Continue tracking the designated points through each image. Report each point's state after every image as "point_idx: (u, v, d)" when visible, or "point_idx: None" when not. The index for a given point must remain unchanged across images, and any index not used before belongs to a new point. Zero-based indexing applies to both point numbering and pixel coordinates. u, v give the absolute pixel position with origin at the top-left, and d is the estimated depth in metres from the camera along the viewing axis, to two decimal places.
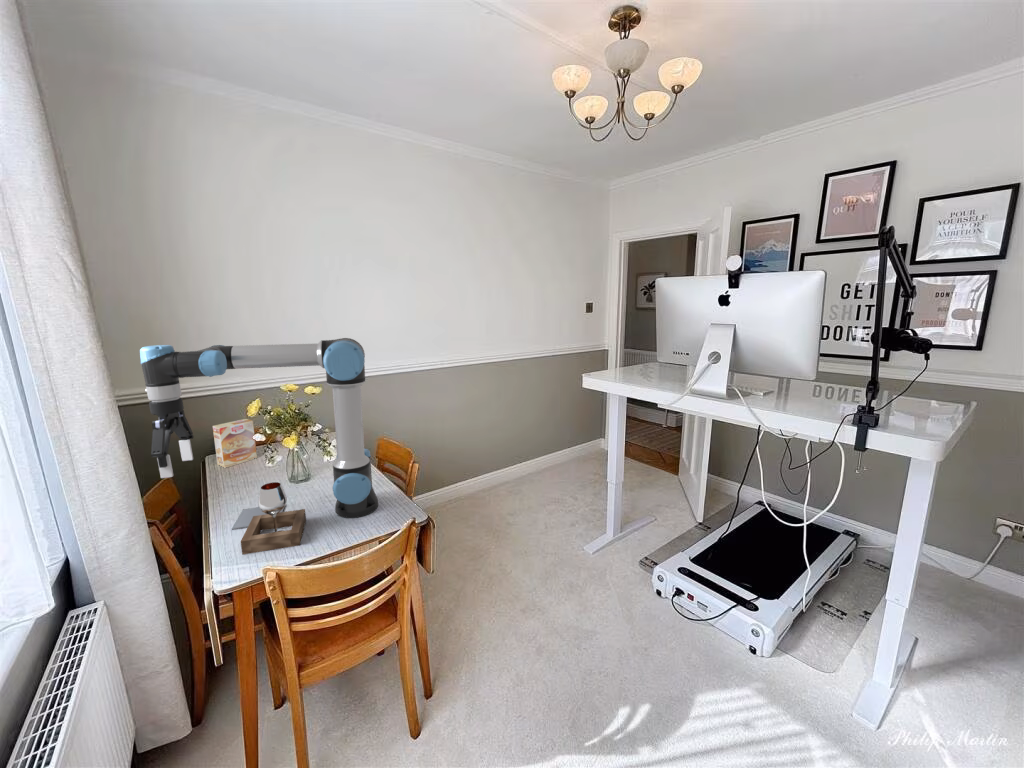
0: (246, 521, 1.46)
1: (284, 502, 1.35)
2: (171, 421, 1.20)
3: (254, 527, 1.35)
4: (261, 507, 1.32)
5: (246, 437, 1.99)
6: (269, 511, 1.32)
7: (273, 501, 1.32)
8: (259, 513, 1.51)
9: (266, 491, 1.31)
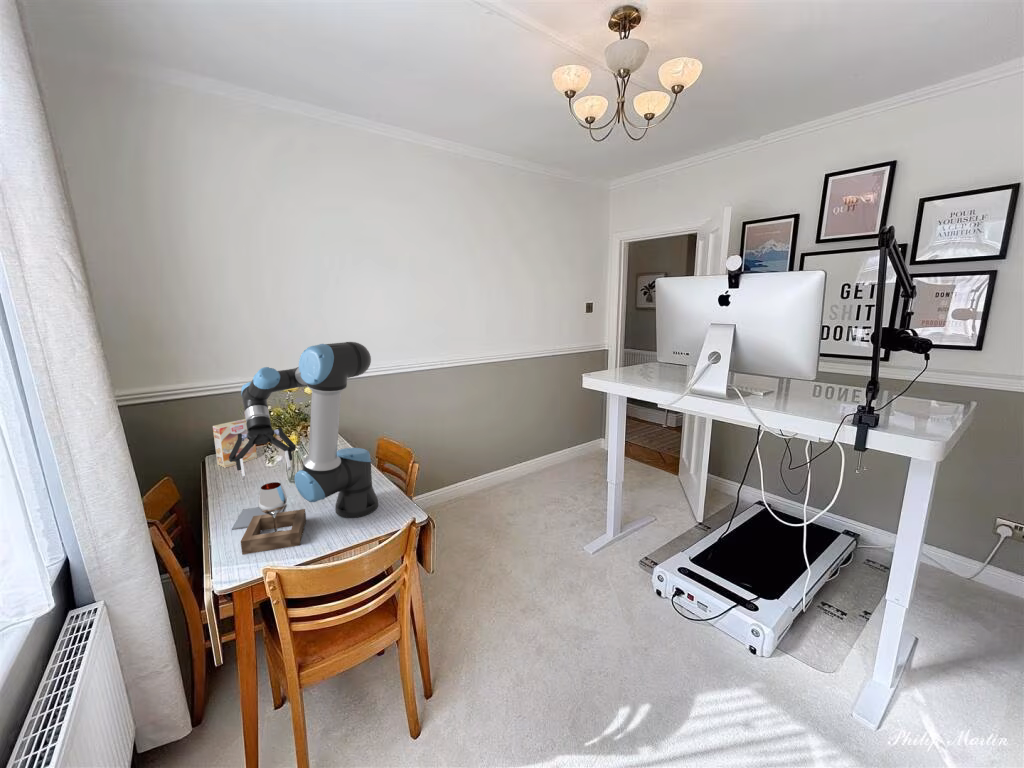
0: (246, 521, 1.46)
1: (284, 502, 1.35)
2: (254, 434, 1.47)
3: (254, 527, 1.35)
4: (261, 507, 1.32)
5: None
6: (269, 511, 1.32)
7: (273, 501, 1.32)
8: (259, 513, 1.51)
9: (266, 491, 1.31)
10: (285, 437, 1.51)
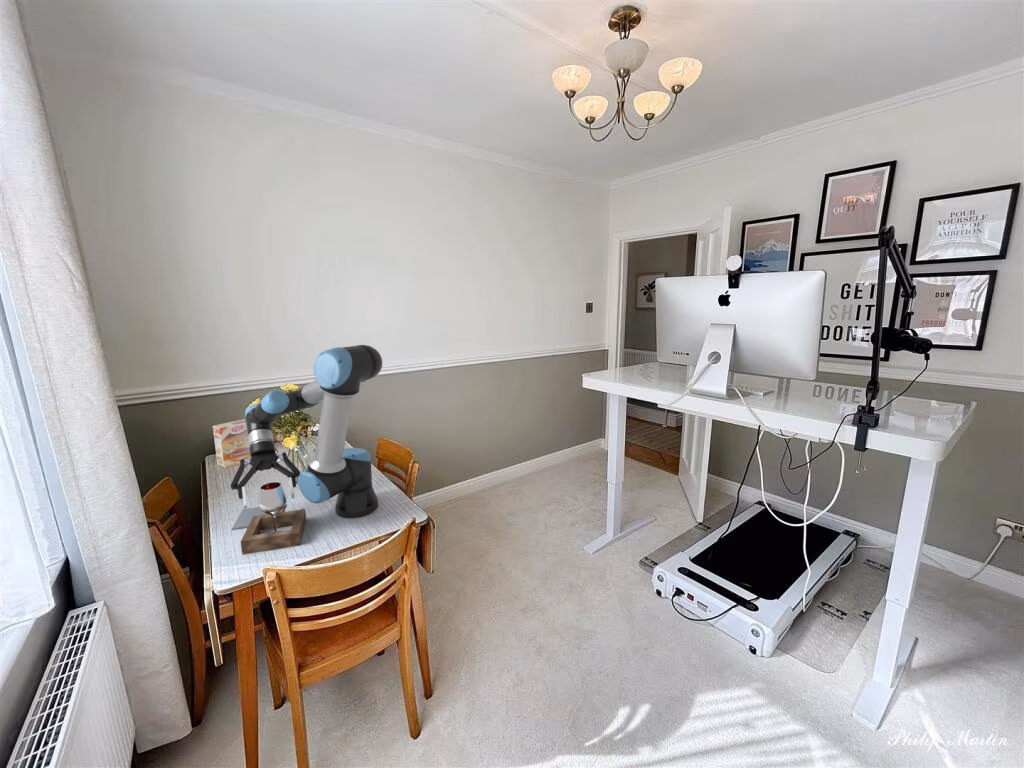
0: (246, 521, 1.46)
1: (284, 502, 1.35)
2: (257, 460, 1.41)
3: (254, 527, 1.35)
4: (261, 507, 1.32)
5: (246, 437, 1.99)
6: (269, 511, 1.32)
7: (273, 501, 1.32)
8: (259, 513, 1.51)
9: (266, 491, 1.31)
10: (289, 462, 1.45)
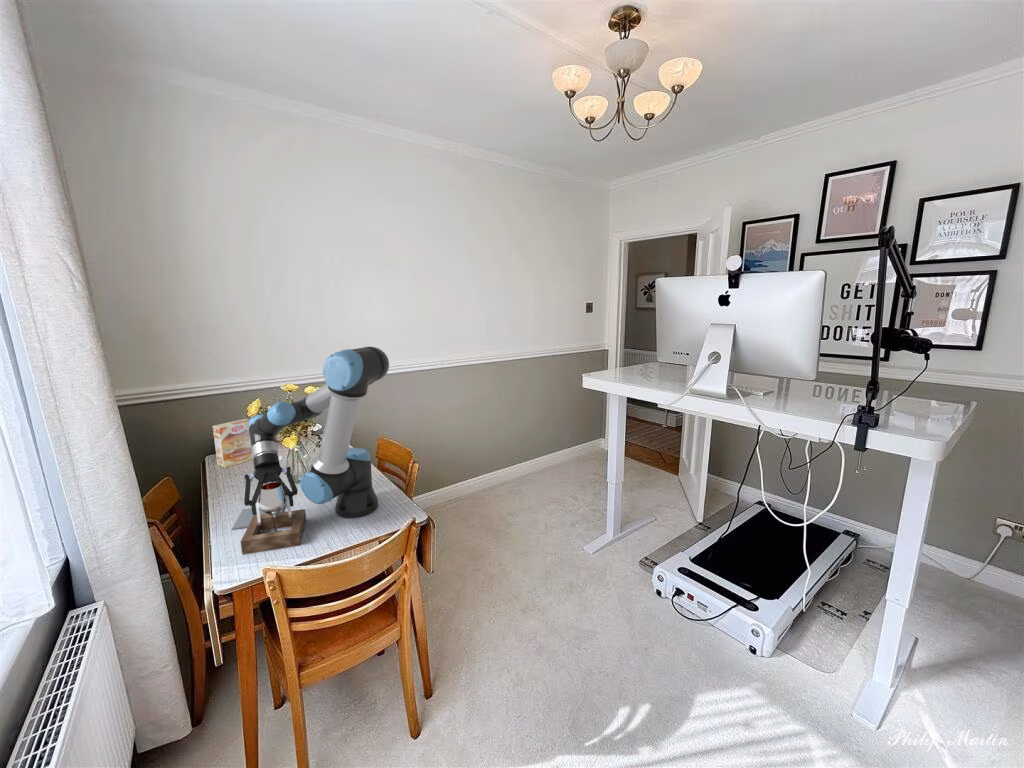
0: (246, 521, 1.46)
1: (284, 502, 1.35)
2: None
3: (254, 527, 1.35)
4: (261, 507, 1.32)
5: (246, 437, 1.99)
6: (269, 511, 1.32)
7: (274, 500, 1.32)
8: None
9: (266, 491, 1.31)
10: (290, 478, 1.41)
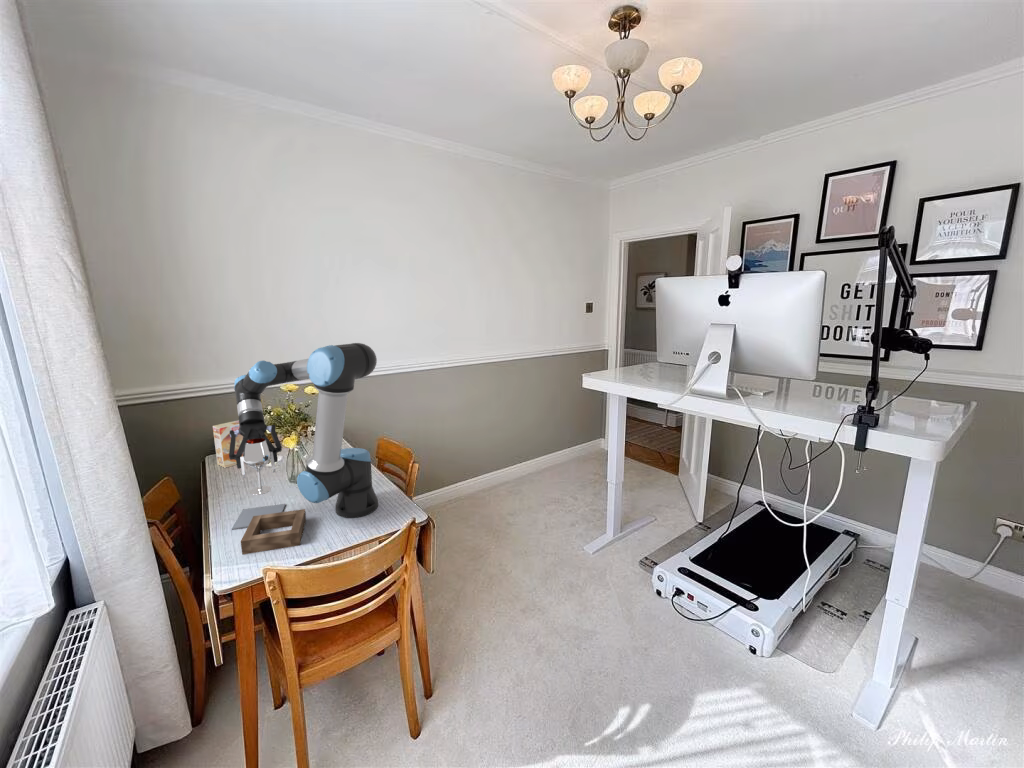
0: (246, 521, 1.46)
1: (268, 457, 1.39)
2: (246, 430, 1.43)
3: (254, 527, 1.35)
4: (246, 460, 1.36)
5: None
6: (253, 464, 1.36)
7: (258, 454, 1.36)
8: (259, 513, 1.51)
9: (250, 445, 1.36)
10: (275, 436, 1.46)
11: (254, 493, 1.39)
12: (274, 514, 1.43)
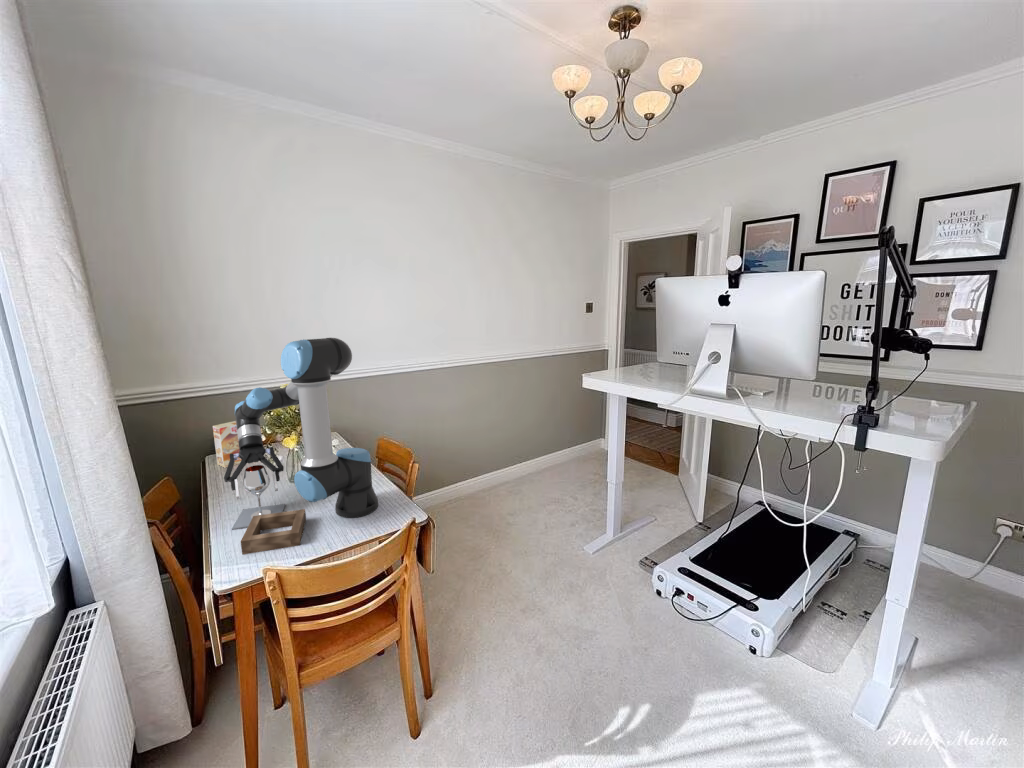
0: (246, 521, 1.46)
1: (267, 483, 1.47)
2: (245, 453, 1.50)
3: (254, 527, 1.35)
4: (245, 487, 1.44)
5: None
6: (253, 491, 1.44)
7: (257, 481, 1.44)
8: None
9: (249, 473, 1.44)
10: (275, 457, 1.54)
11: None
12: (274, 514, 1.43)
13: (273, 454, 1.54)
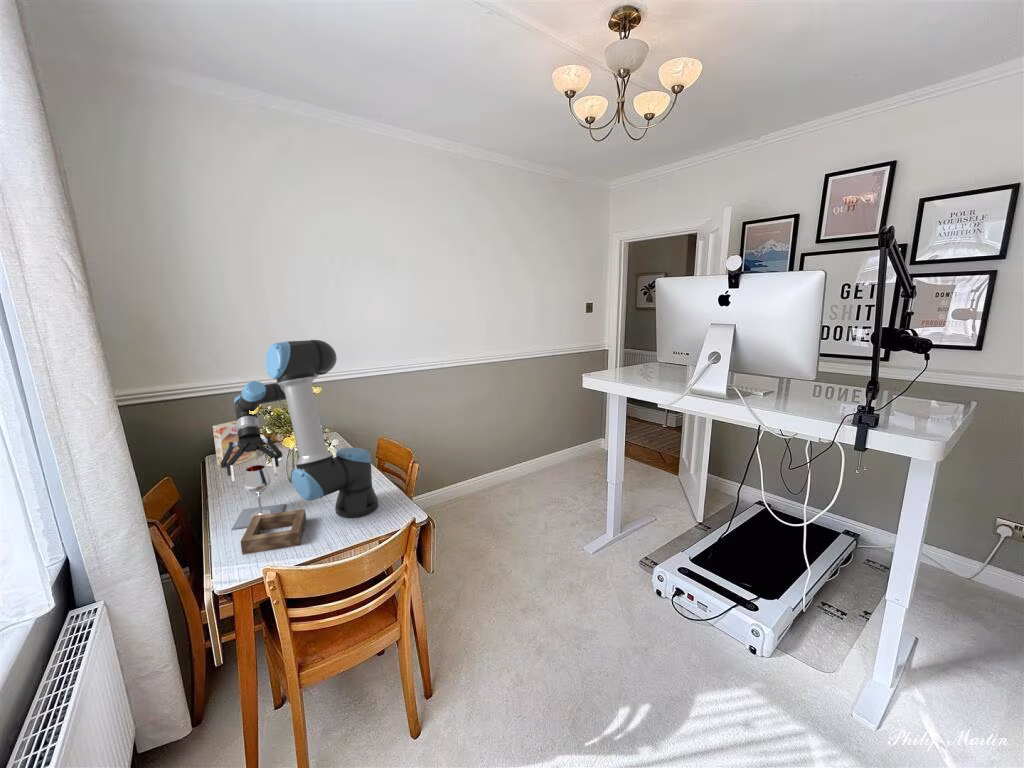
0: (246, 521, 1.46)
1: (267, 483, 1.47)
2: (244, 443, 1.61)
3: (254, 527, 1.35)
4: (246, 487, 1.44)
5: None
6: (253, 491, 1.44)
7: (257, 481, 1.44)
8: None
9: (250, 473, 1.44)
10: (272, 445, 1.65)
11: None
12: (274, 514, 1.43)
13: (271, 443, 1.65)
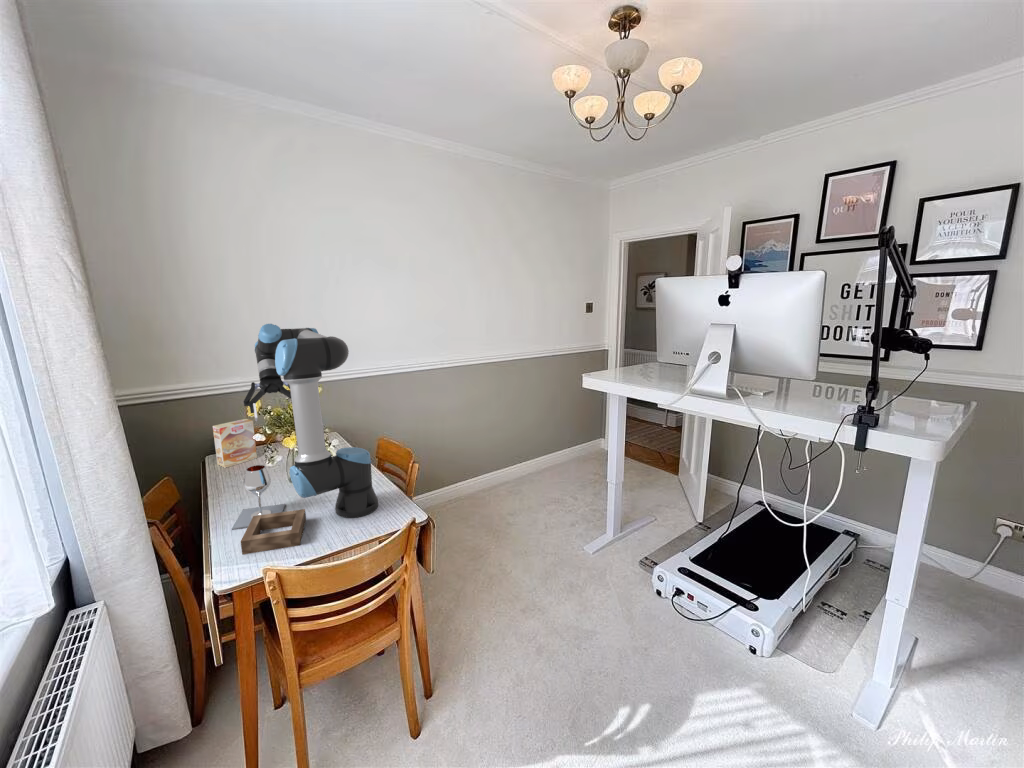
0: (246, 521, 1.46)
1: (268, 483, 1.47)
2: (266, 384, 1.64)
3: (254, 527, 1.35)
4: (246, 487, 1.44)
5: (246, 437, 1.99)
6: (254, 491, 1.44)
7: (258, 481, 1.44)
8: None
9: (251, 473, 1.44)
10: None
11: None
12: (274, 514, 1.43)
13: None
